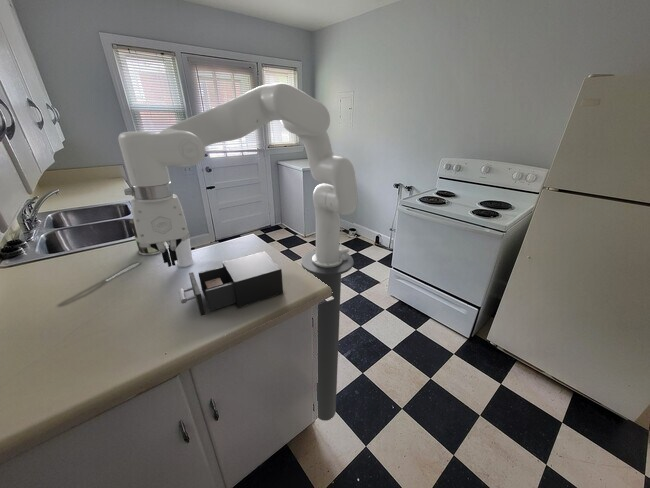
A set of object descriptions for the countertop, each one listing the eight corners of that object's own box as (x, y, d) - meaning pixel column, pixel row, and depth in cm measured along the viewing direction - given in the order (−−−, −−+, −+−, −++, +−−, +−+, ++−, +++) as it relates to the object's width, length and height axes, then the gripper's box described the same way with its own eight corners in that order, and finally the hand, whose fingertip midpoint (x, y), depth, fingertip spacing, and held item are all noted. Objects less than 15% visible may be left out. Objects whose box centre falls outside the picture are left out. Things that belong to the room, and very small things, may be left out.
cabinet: (238, 308, 81) (234, 282, 77) (226, 284, 92) (222, 261, 88) (283, 293, 88) (281, 268, 84) (266, 273, 99) (264, 251, 95)
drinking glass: (187, 258, 109) (178, 223, 102) (199, 262, 106) (191, 226, 100) (172, 266, 103) (162, 229, 97) (184, 270, 100) (175, 233, 94)
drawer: (185, 321, 74) (180, 299, 71) (179, 296, 84) (174, 276, 81) (248, 301, 82) (245, 280, 79) (236, 280, 93) (233, 262, 90)
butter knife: (142, 263, 104) (136, 262, 105) (66, 306, 81) (58, 304, 82) (142, 264, 105) (136, 263, 105) (66, 307, 81) (59, 305, 82)
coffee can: (135, 256, 110) (124, 224, 104) (144, 245, 119) (135, 215, 113) (162, 254, 112) (153, 222, 106) (170, 243, 121) (162, 214, 115)
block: (221, 289, 86) (219, 277, 84) (225, 296, 83) (223, 284, 81) (207, 293, 84) (204, 281, 82) (210, 300, 80) (207, 288, 79)
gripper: (110, 199, 53) (136, 279, 61) (192, 191, 61) (206, 262, 68) (113, 191, 59) (136, 265, 67) (187, 184, 66) (200, 251, 74)
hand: (171, 263), depth 67 cm, fingers closed
